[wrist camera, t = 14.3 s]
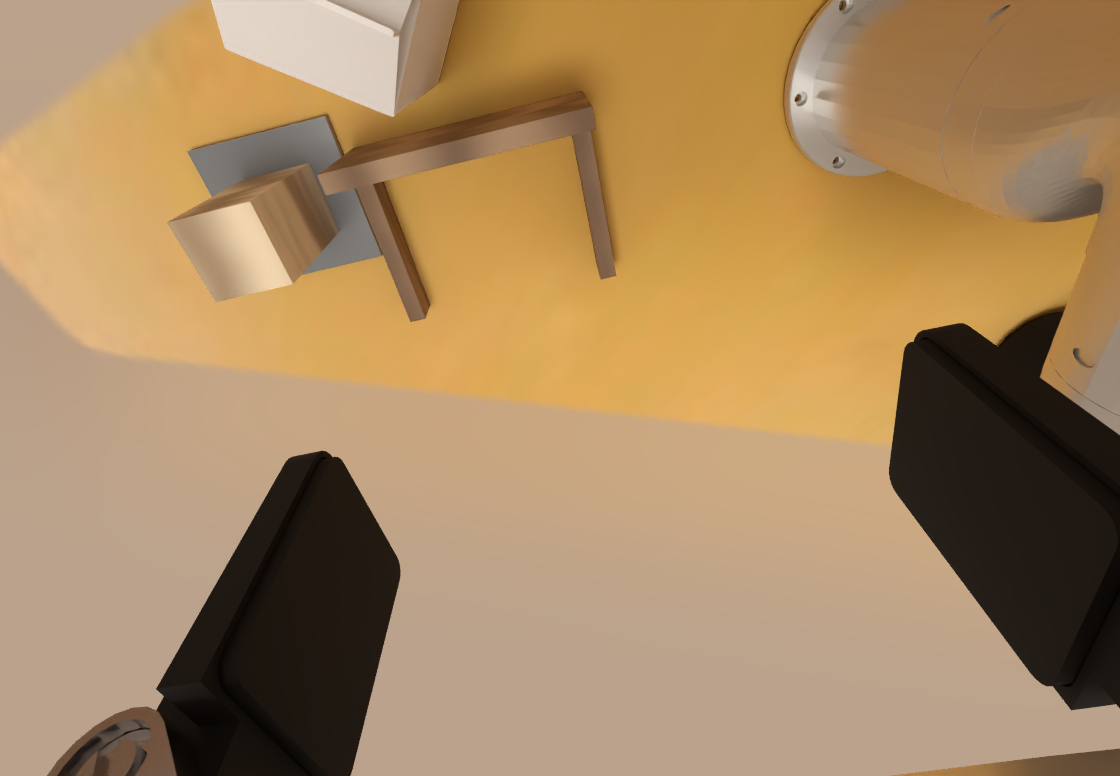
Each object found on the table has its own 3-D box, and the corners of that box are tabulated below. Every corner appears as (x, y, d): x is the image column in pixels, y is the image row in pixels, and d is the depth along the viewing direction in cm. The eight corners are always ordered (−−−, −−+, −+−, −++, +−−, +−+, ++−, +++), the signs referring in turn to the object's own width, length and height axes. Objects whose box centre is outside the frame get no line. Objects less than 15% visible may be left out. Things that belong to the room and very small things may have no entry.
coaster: (327, 114, 39) (324, 115, 38) (383, 253, 44) (381, 255, 44) (191, 149, 40) (187, 151, 39) (263, 281, 45) (259, 284, 45)
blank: (309, 162, 40) (250, 201, 31) (339, 231, 43) (292, 284, 34) (242, 179, 40) (167, 222, 32) (277, 246, 43) (215, 302, 35)
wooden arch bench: (581, 91, 39) (592, 106, 32) (612, 264, 45) (626, 306, 39) (352, 148, 40) (317, 175, 33) (415, 308, 47) (396, 356, 40)
